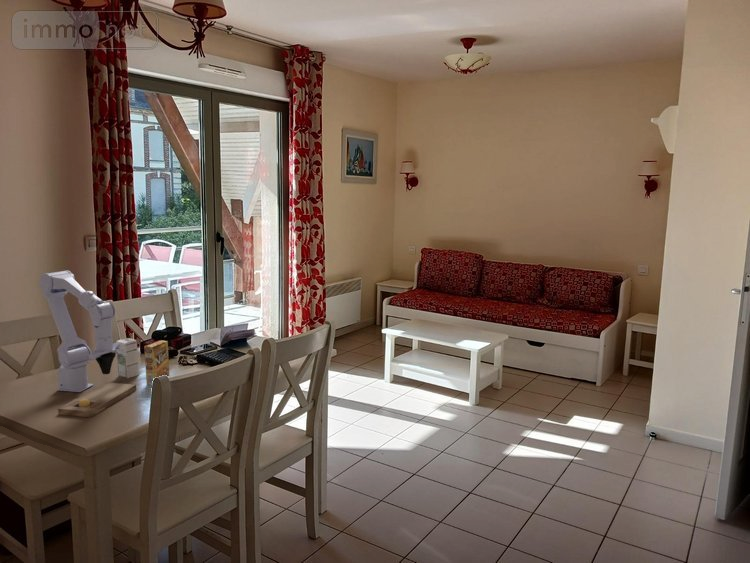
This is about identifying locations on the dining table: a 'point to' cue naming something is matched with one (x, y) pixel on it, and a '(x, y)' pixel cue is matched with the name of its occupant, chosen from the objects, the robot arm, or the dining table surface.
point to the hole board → (97, 399)
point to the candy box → (156, 360)
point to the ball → (84, 403)
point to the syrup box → (127, 358)
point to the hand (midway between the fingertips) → (106, 373)
